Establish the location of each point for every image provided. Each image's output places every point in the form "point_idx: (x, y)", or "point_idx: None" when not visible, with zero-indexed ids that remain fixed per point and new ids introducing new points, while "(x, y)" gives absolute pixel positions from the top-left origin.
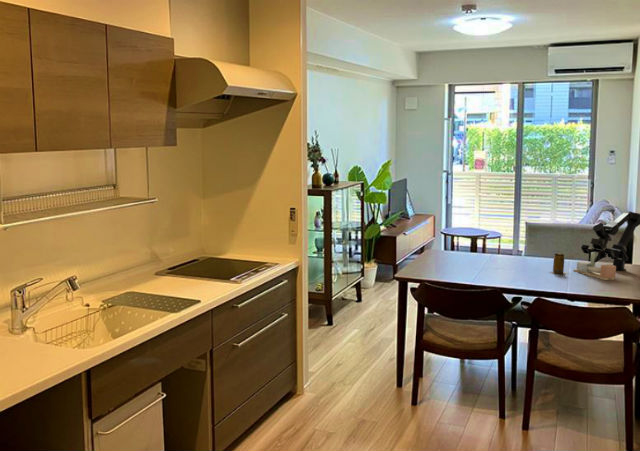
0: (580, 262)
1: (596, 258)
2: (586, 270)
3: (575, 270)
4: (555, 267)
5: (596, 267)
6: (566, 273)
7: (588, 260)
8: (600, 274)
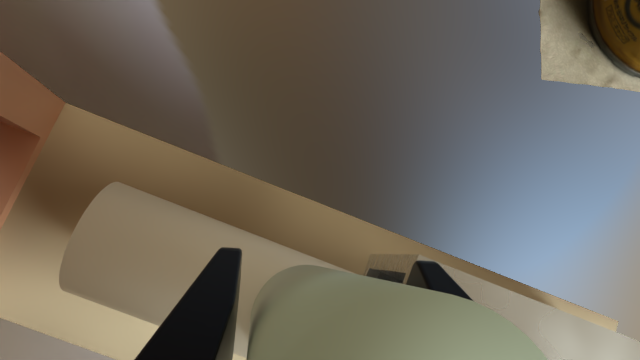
0: (622, 354)
1: (186, 331)
2: (381, 254)
3: (569, 303)
4: None
5: (185, 264)
6: (559, 51)
7: (434, 263)
8: (41, 86)
